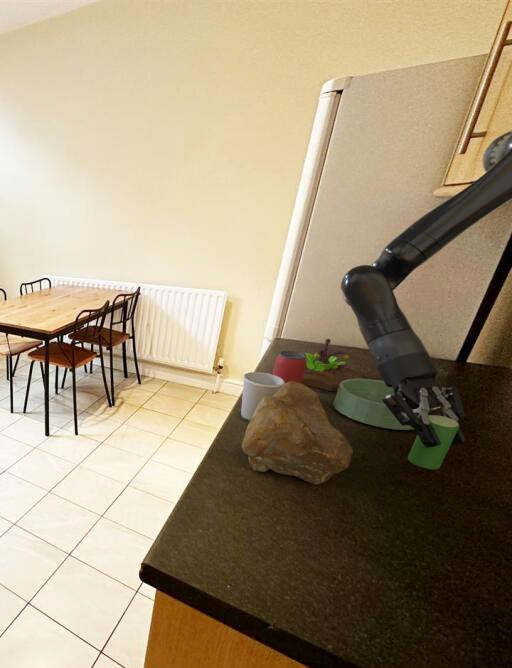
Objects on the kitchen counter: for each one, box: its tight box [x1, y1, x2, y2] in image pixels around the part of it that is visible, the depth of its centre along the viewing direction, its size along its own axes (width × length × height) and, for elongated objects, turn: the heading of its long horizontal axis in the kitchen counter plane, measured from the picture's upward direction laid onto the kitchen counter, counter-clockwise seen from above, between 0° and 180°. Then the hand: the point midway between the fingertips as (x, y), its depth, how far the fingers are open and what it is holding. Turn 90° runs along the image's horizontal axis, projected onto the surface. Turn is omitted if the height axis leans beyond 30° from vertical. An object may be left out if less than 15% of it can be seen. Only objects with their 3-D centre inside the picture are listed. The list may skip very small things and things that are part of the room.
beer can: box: [271, 350, 307, 387], centre depth 107 cm, size 7×7×12 cm
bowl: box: [333, 378, 420, 431], centre depth 98 cm, size 16×16×6 cm
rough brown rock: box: [241, 381, 354, 485], centre depth 79 cm, size 23×17×15 cm
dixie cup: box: [240, 371, 285, 421], centre depth 98 cm, size 8×8×10 cm
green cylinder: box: [407, 414, 460, 470], centre depth 75 cm, size 4×4×9 cm
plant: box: [301, 338, 363, 393], centre depth 118 cm, size 20×20×11 cm
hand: (445, 444), depth 74 cm, fingers closed on green cylinder, 4 cm apart
